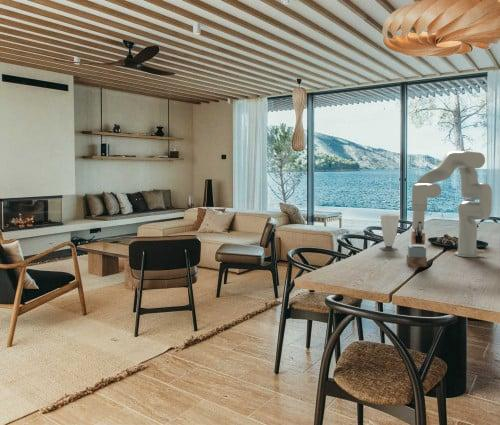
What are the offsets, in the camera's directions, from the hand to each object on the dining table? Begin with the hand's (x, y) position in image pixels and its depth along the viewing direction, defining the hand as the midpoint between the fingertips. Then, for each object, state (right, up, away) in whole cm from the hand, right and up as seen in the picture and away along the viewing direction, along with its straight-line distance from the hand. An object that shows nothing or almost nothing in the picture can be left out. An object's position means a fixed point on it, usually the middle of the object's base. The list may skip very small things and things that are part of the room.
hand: (417, 241), depth 236 cm
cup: (-1, -8, +46) cm, 46 cm away
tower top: (0, -7, +1) cm, 7 cm away
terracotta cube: (0, -1, 0) cm, 1 cm away
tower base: (0, -12, +1) cm, 12 cm away
